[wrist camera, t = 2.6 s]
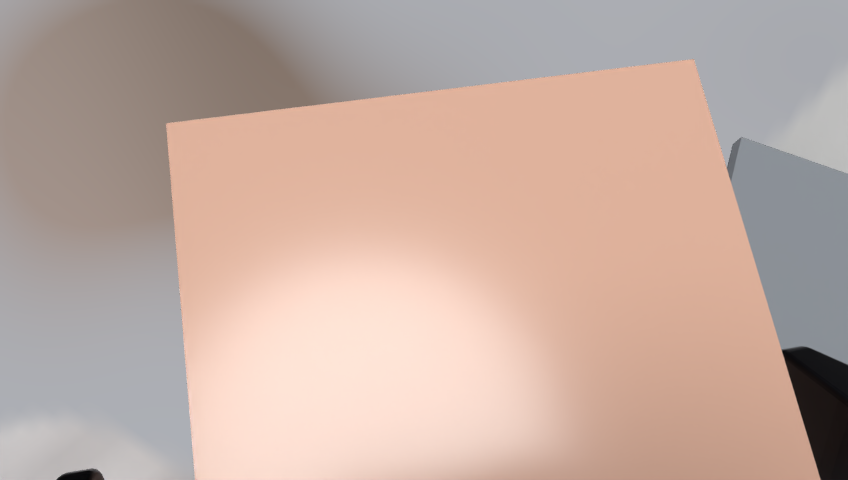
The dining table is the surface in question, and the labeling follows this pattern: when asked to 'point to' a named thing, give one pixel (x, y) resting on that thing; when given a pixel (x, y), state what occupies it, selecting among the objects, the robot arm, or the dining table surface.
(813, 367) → the robot arm
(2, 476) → the dining table surface
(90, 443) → the dining table surface
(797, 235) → the mat
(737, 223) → the tall salmon pink box
